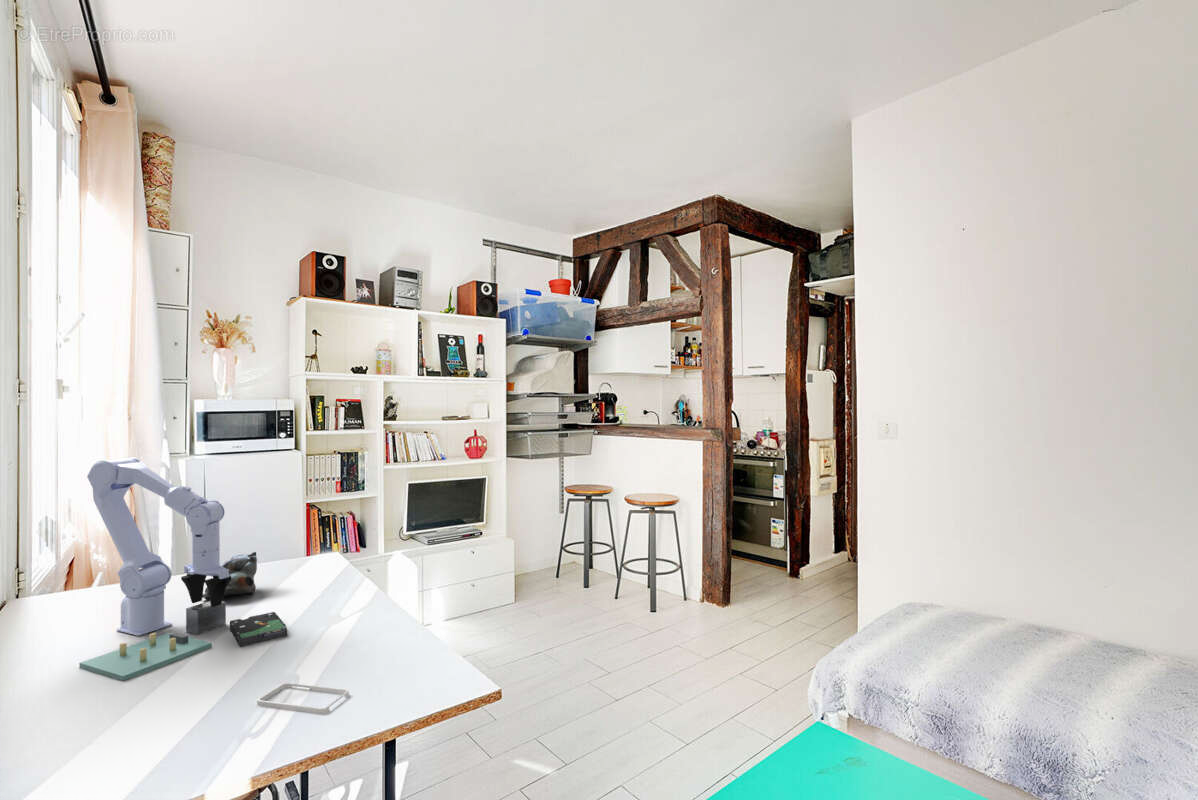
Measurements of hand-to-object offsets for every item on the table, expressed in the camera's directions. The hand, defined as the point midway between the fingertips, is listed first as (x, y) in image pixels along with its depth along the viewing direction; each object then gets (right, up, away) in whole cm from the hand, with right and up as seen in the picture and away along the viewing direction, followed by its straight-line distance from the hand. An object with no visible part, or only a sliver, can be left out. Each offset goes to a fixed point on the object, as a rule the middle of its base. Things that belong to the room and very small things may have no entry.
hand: (206, 603), depth 147 cm
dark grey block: (0, -6, 0) cm, 6 cm away
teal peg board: (-2, -6, -17) cm, 18 cm away
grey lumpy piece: (-10, -7, +26) cm, 28 cm away
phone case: (+43, -6, -36) cm, 57 cm away
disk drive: (+15, -7, -3) cm, 17 cm away
